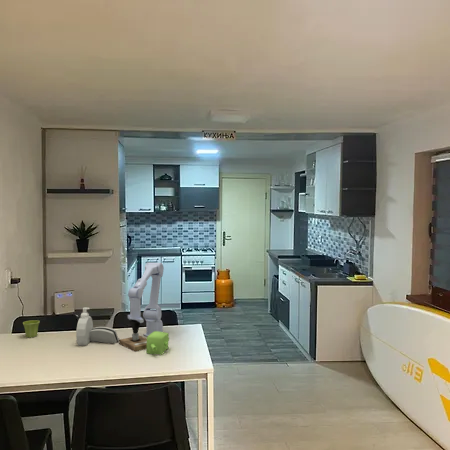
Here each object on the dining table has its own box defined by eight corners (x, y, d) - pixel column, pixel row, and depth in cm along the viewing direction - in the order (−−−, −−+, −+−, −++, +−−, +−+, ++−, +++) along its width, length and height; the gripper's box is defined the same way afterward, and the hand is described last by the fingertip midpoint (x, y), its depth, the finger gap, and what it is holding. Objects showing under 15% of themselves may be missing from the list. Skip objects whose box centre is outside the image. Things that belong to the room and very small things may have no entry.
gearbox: (160, 359, 224) (161, 341, 223) (142, 356, 226) (143, 338, 225) (172, 347, 241) (173, 331, 240) (156, 345, 243) (156, 329, 243)
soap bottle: (85, 346, 242) (85, 311, 242) (76, 346, 242) (75, 311, 241) (93, 338, 258) (93, 304, 258) (84, 338, 258) (84, 305, 257)
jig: (139, 339, 256) (139, 334, 256) (155, 346, 242) (155, 341, 242) (119, 343, 247) (119, 338, 247) (134, 351, 234) (134, 346, 234)
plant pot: (22, 335, 264) (22, 321, 264) (39, 333, 268) (39, 319, 268) (22, 339, 256) (22, 324, 256) (40, 337, 260) (40, 323, 260)
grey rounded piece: (120, 340, 253) (117, 326, 250) (116, 345, 249) (113, 331, 245) (94, 338, 257) (91, 324, 254) (90, 343, 253) (87, 329, 249)
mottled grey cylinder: (136, 343, 249) (136, 332, 249) (139, 344, 246) (139, 334, 246) (131, 344, 246) (130, 333, 246) (134, 345, 244) (134, 335, 244)
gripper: (122, 308, 249) (123, 331, 249) (135, 312, 238) (135, 337, 238) (134, 306, 253) (134, 329, 254) (146, 310, 242) (146, 334, 243)
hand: (135, 333), depth 246 cm, fingers closed
